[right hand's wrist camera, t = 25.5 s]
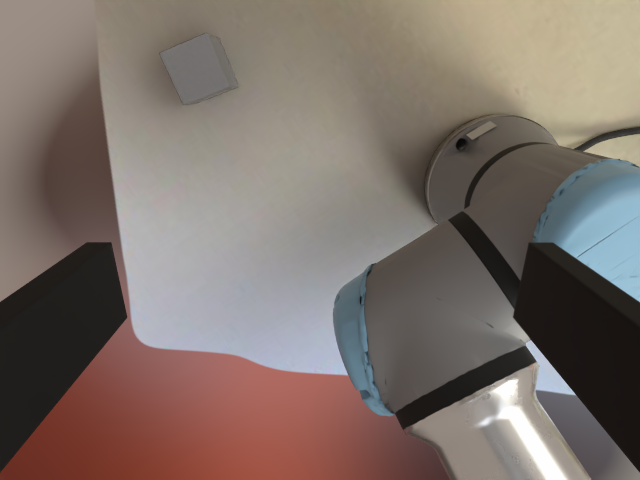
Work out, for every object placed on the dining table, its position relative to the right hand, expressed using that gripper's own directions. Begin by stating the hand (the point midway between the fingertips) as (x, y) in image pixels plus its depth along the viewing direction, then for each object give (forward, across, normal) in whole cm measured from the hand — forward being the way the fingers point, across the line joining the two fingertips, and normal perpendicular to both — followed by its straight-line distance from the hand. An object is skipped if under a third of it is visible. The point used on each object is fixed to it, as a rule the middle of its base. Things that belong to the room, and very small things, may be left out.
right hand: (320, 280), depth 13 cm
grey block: (+35, +12, -7) cm, 37 cm away
